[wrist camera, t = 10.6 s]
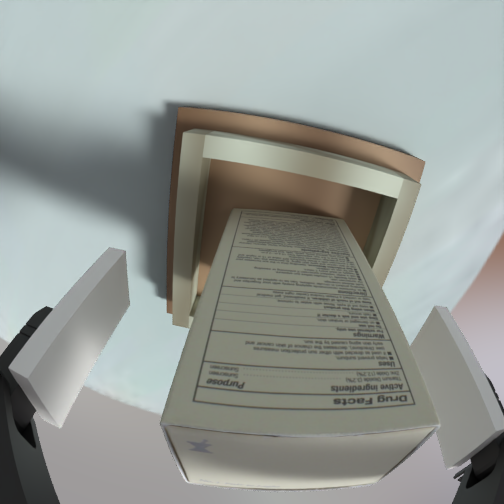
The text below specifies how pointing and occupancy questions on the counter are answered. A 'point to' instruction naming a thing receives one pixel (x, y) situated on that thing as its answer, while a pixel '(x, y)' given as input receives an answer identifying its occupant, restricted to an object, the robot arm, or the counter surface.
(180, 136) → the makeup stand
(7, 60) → the counter surface
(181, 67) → the counter surface
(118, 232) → the counter surface
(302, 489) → the skincare box
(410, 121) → the counter surface
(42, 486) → the robot arm
